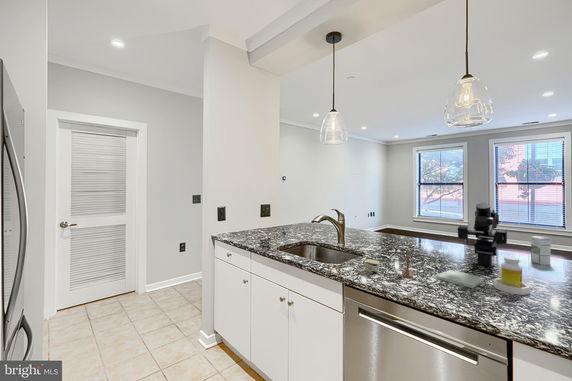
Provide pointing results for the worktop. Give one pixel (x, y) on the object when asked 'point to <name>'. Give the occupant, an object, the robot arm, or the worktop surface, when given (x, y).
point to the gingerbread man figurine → (406, 272)
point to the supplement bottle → (511, 272)
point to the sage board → (461, 278)
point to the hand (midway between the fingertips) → (479, 244)
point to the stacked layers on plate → (372, 265)
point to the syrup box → (540, 250)
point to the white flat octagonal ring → (511, 288)
